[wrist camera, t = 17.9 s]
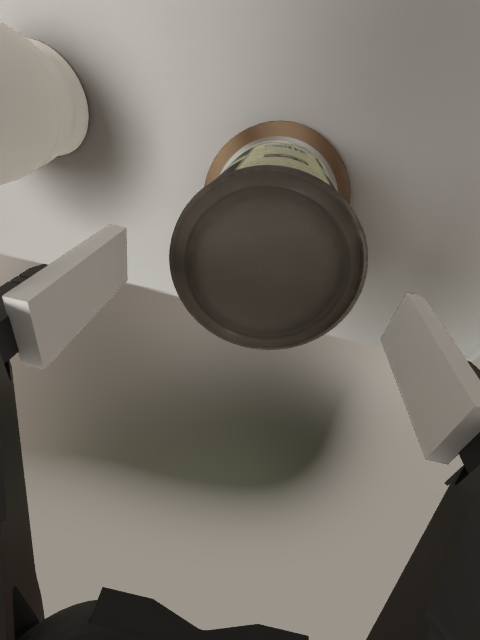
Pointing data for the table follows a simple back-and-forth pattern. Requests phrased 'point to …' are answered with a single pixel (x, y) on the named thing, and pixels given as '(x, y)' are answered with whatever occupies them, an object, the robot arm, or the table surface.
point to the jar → (36, 105)
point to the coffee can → (269, 250)
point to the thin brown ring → (284, 133)
